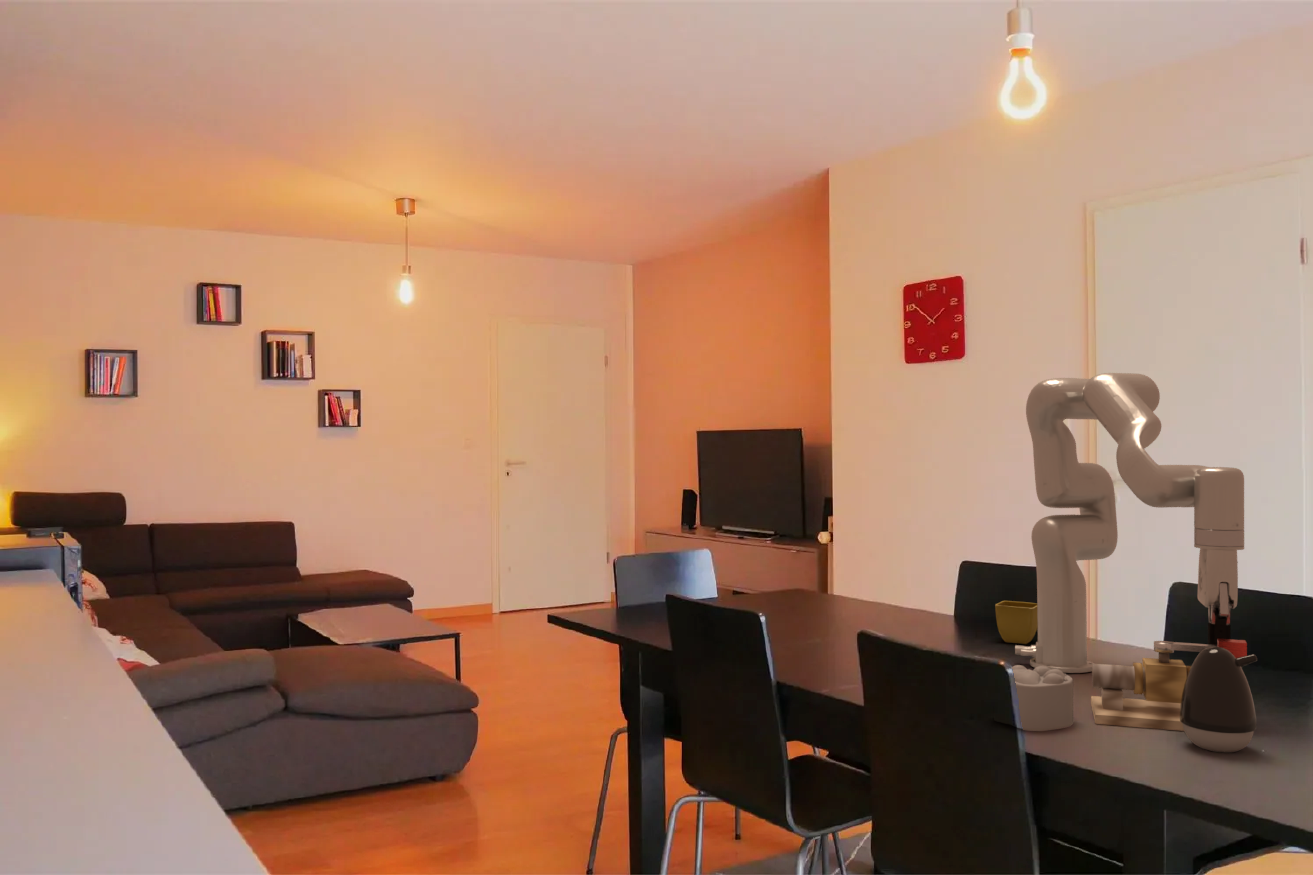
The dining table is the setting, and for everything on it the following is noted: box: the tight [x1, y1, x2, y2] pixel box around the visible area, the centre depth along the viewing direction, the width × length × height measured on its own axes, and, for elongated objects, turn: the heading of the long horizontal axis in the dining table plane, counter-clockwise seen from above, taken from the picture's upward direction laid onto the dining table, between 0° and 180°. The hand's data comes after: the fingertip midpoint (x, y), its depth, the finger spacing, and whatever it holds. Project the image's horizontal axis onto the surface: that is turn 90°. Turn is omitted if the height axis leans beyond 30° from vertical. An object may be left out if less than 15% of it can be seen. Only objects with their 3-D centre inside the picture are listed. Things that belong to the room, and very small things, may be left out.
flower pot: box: [994, 600, 1038, 645], centre depth 244 cm, size 9×9×9 cm
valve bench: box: [1090, 652, 1192, 732], centre depth 173 cm, size 22×14×11 cm, turn 70°
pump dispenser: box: [1180, 647, 1258, 753], centre depth 156 cm, size 10×10×15 cm
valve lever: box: [1153, 639, 1248, 658], centre depth 171 cm, size 14×3×2 cm, turn 65°
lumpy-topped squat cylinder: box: [1011, 664, 1074, 732], centre depth 172 cm, size 10×13×9 cm
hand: (1219, 646), depth 176 cm, fingers closed
